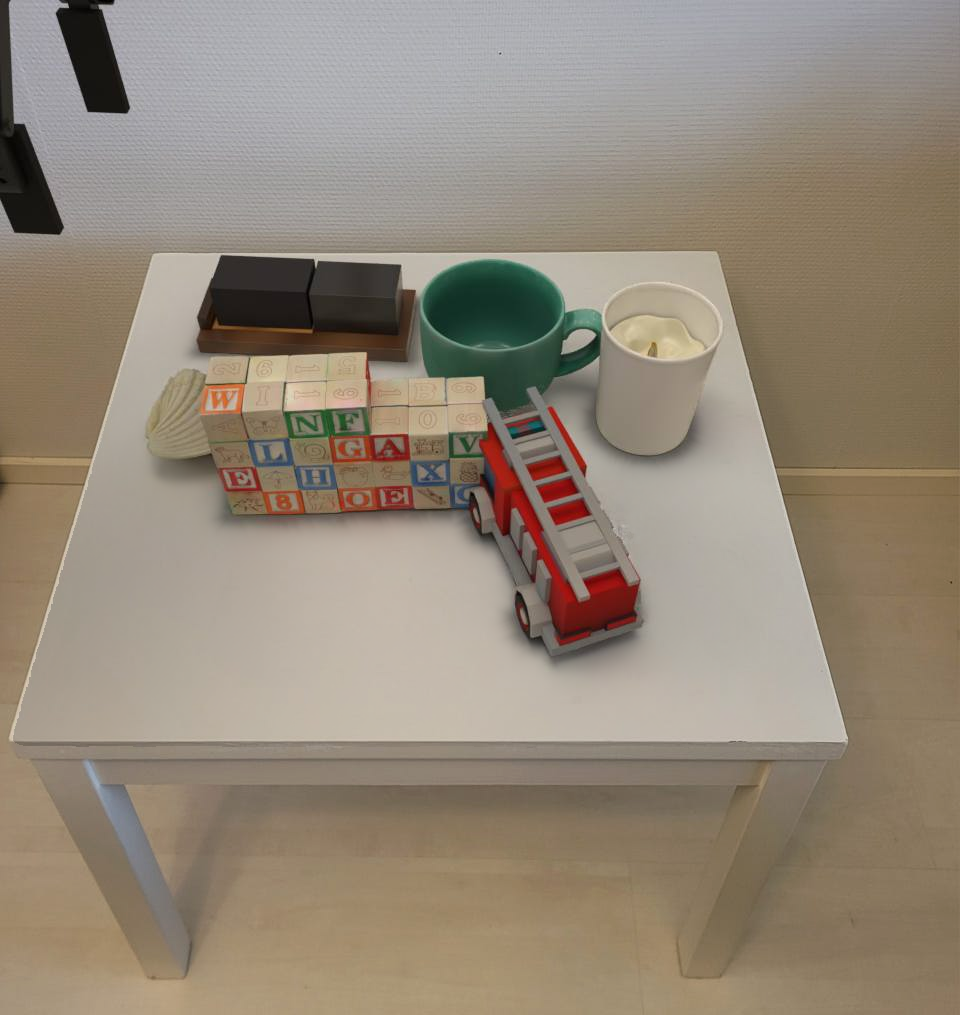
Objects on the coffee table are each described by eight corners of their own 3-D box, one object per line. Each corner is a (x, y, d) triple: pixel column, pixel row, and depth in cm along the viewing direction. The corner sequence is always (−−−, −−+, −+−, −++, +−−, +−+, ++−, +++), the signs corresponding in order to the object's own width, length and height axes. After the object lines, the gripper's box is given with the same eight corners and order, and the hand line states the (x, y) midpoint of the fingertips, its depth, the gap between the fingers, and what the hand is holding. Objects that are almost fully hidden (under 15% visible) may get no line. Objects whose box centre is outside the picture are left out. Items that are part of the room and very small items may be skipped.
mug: (408, 420, 87) (403, 340, 79) (438, 330, 95) (436, 249, 87) (591, 446, 85) (603, 367, 78) (606, 352, 93) (618, 272, 85)
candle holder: (647, 370, 91) (668, 266, 82) (719, 433, 86) (749, 330, 77) (565, 411, 88) (577, 308, 78) (635, 479, 83) (656, 377, 73)
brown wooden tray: (199, 352, 92) (185, 302, 88) (220, 292, 98) (208, 242, 93) (407, 362, 92) (403, 312, 87) (416, 301, 97) (414, 251, 93)
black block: (218, 325, 92) (208, 287, 89) (229, 292, 95) (220, 254, 92) (311, 329, 92) (305, 292, 88) (320, 296, 95) (314, 258, 92)
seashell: (123, 408, 84) (186, 344, 84) (197, 466, 89) (258, 406, 88) (125, 444, 77) (195, 375, 77) (205, 505, 82) (271, 440, 82)
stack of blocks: (484, 453, 84) (485, 347, 75) (488, 509, 80) (489, 404, 71) (239, 460, 84) (208, 354, 74) (230, 516, 80) (196, 412, 70)
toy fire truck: (553, 463, 84) (561, 379, 76) (650, 638, 73) (671, 561, 65) (456, 490, 82) (454, 407, 74) (541, 674, 71) (549, 599, 63)
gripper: (-110, -156, 36) (71, 294, 53) (95, -315, 52) (185, 70, 68) (-304, -162, 36) (-64, 288, 53) (-42, -319, 52) (80, 66, 69)
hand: (76, 166), depth 61 cm, fingers open, 13 cm apart
